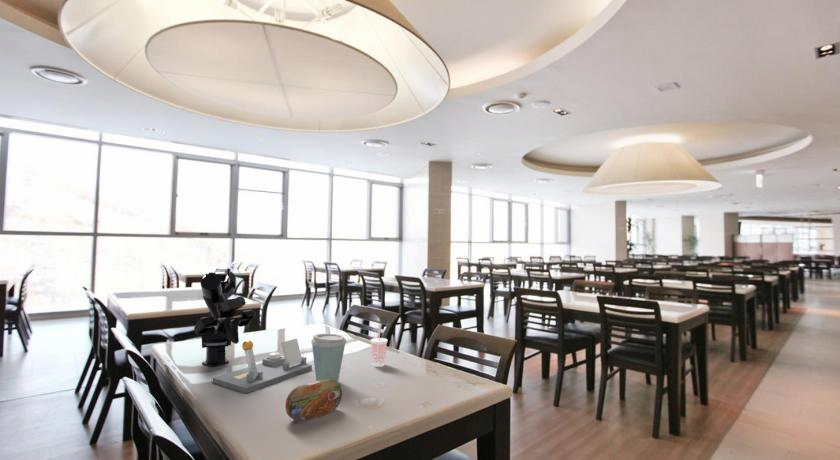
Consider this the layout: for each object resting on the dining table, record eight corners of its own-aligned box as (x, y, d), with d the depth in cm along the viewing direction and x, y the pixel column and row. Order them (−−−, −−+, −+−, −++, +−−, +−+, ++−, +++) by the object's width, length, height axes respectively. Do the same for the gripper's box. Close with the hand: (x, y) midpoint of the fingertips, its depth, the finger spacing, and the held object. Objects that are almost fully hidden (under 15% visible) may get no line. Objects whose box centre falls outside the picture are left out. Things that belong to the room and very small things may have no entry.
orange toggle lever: (246, 379, 123) (239, 342, 126) (255, 376, 126) (247, 340, 129) (253, 377, 122) (245, 340, 124) (262, 374, 125) (254, 338, 127)
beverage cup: (388, 362, 149) (389, 324, 149) (385, 367, 142) (386, 328, 143) (372, 361, 149) (372, 323, 150) (368, 367, 143) (369, 327, 143)
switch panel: (212, 382, 125) (212, 371, 125) (280, 361, 148) (280, 351, 148) (245, 393, 117) (246, 381, 117) (312, 369, 139) (312, 358, 140)
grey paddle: (286, 366, 136) (281, 342, 137) (300, 361, 141) (294, 339, 142) (288, 365, 135) (283, 341, 137) (302, 361, 140) (296, 338, 142)
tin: (288, 426, 97) (290, 391, 97) (283, 422, 99) (284, 387, 99) (342, 409, 107) (343, 377, 107) (335, 405, 110) (336, 374, 110)
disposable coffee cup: (333, 375, 134) (334, 329, 134) (351, 384, 126) (353, 335, 126) (303, 382, 126) (305, 334, 127) (321, 392, 119) (323, 341, 119)
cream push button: (266, 360, 140) (266, 354, 140) (274, 357, 143) (275, 351, 143) (273, 361, 138) (273, 355, 138) (281, 359, 141) (282, 353, 141)
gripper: (200, 291, 124) (221, 332, 118) (253, 286, 140) (273, 322, 134) (185, 314, 128) (204, 355, 122) (238, 306, 144) (257, 342, 138)
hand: (237, 342), depth 129 cm, fingers closed
